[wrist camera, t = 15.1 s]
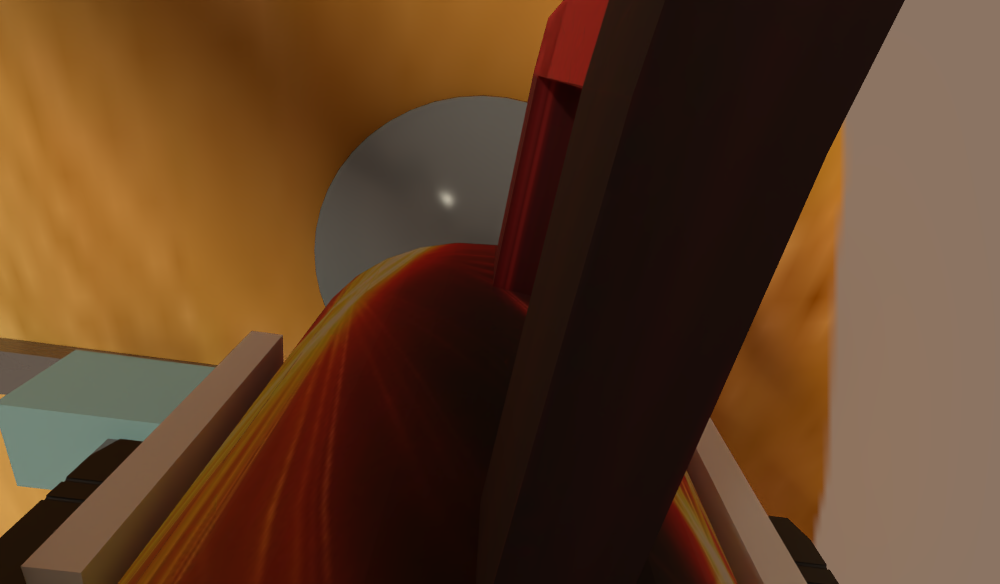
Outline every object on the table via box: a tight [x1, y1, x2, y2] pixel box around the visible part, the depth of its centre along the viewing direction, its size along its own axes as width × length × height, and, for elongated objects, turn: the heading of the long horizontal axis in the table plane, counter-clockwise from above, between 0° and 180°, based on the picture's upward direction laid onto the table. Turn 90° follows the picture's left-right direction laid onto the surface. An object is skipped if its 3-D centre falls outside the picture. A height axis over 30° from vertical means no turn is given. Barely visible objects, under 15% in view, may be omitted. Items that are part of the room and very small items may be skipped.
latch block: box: [0, 350, 216, 490], centre depth 21 cm, size 4×10×5 cm, turn 82°
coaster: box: [315, 95, 528, 307], centre depth 22 cm, size 14×14×1 cm
